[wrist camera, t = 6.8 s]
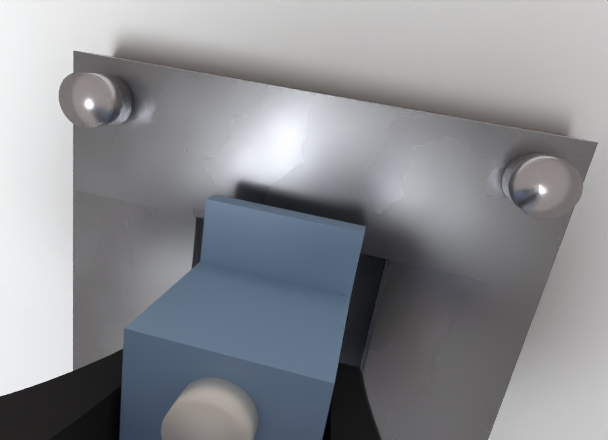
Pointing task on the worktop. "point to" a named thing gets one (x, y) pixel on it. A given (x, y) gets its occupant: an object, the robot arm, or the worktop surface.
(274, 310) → the servo
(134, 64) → the plate
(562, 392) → the worktop surface
